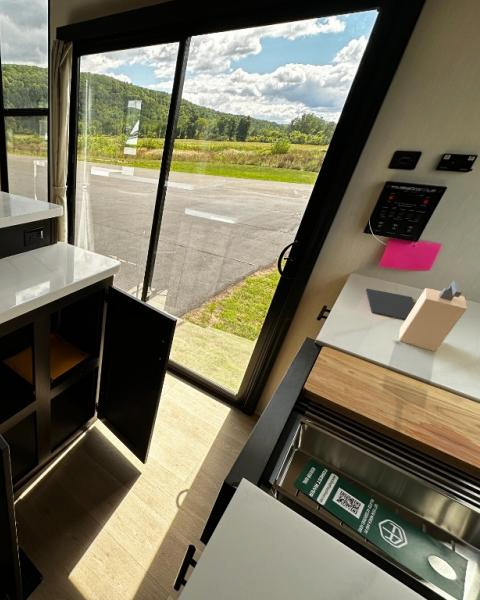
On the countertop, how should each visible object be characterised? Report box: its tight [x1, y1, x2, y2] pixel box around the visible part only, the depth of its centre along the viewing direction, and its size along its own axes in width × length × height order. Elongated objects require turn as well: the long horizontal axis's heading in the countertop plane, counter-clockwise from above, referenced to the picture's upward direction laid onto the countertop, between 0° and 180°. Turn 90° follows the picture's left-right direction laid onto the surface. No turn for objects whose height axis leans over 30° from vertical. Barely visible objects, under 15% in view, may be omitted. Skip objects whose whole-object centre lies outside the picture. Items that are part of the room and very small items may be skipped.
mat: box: [365, 288, 416, 321], centre depth 120 cm, size 14×20×1 cm
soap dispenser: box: [398, 279, 468, 352], centre depth 96 cm, size 13×9×22 cm
